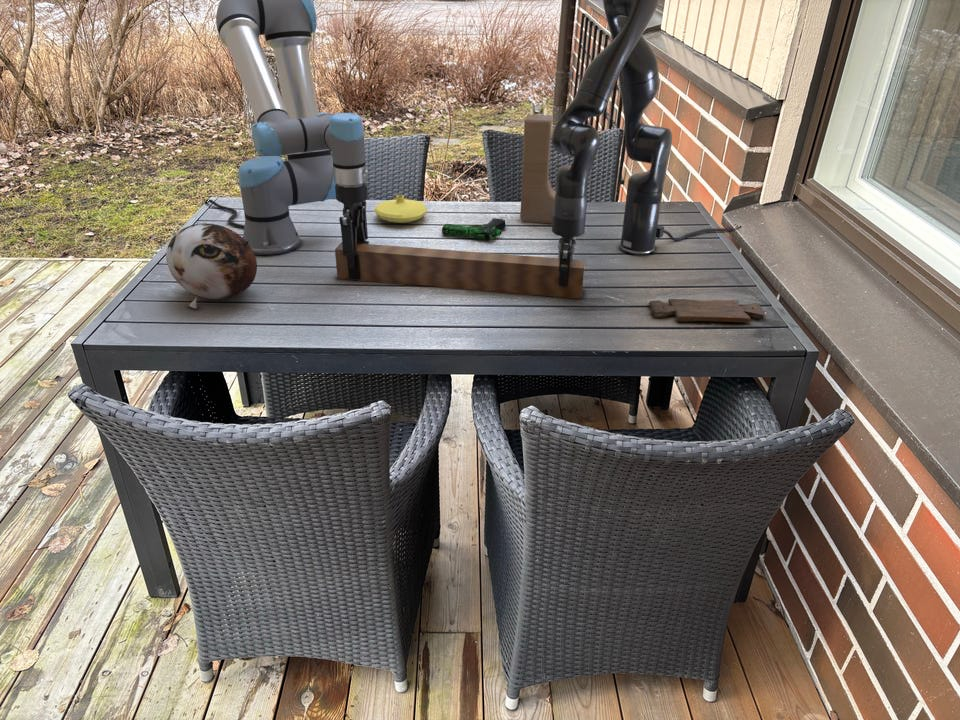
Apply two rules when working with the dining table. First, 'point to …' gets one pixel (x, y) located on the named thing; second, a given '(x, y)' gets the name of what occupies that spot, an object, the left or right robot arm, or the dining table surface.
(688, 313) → the dark wooden board
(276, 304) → the dining table surface
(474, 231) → the handgun
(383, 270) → the beam
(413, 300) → the dining table surface
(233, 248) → the cat face balloon
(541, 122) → the decorative block
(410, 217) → the yellow round flat dome
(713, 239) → the dining table surface
